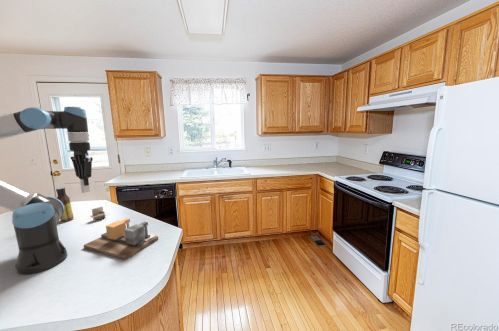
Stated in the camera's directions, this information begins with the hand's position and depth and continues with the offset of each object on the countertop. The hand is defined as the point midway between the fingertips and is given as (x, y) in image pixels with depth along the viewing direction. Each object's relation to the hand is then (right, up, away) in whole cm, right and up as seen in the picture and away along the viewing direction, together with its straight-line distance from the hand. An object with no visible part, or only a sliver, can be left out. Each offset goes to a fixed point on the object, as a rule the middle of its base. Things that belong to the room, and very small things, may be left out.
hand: (85, 191), depth 104 cm
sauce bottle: (-32, -20, +27) cm, 46 cm away
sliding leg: (+16, -21, +1) cm, 26 cm away
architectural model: (-12, -20, +28) cm, 37 cm away
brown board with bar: (+18, -24, -1) cm, 30 cm away
